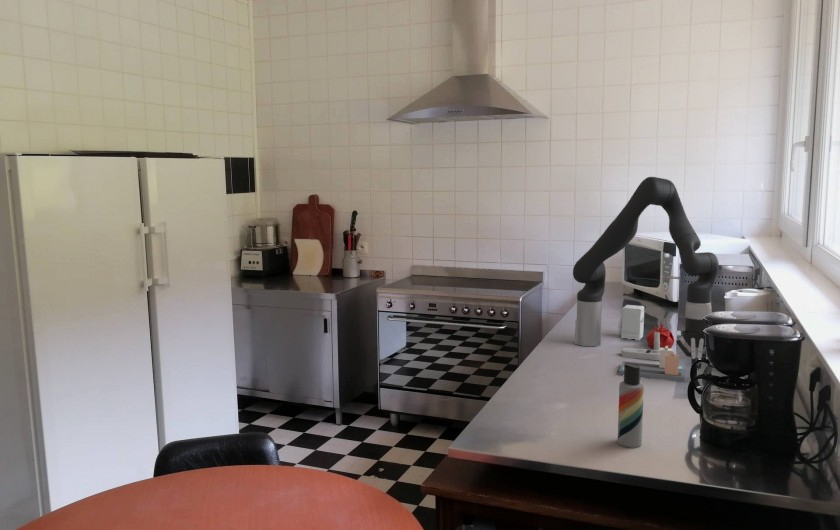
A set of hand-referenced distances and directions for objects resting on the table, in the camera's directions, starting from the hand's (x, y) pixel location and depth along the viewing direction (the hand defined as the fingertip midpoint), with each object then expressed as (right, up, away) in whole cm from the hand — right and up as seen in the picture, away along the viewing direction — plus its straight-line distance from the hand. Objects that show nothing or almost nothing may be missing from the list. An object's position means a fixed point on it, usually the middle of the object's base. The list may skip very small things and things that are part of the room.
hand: (696, 369), depth 211 cm
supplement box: (-3, +4, +56) cm, 56 cm away
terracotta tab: (-7, -2, +3) cm, 8 cm away
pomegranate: (+3, +2, +40) cm, 40 cm away
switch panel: (-11, -3, +9) cm, 14 cm away
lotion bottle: (-36, -11, -47) cm, 61 cm away
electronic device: (-8, 0, +28) cm, 29 cm away
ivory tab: (-6, -1, +10) cm, 12 cm away
